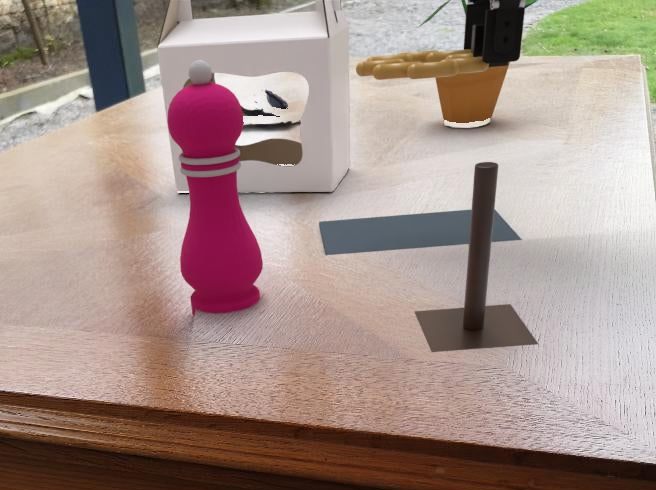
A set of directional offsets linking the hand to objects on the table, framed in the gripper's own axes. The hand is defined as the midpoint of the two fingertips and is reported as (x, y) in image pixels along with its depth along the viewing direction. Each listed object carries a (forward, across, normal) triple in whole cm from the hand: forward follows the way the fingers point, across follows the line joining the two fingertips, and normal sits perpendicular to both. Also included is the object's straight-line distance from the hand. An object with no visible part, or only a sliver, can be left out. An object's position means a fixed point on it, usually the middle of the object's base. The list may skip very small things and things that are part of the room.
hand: (490, 55), depth 72 cm
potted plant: (+17, +59, -12) cm, 63 cm away
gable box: (+17, +32, +22) cm, 43 cm away
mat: (+17, 0, +6) cm, 18 cm away
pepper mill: (+17, -14, +26) cm, 34 cm away
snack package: (+17, +73, +20) cm, 78 cm away
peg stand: (+17, -24, +6) cm, 30 cm away
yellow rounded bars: (+1, 0, +6) cm, 6 cm away
